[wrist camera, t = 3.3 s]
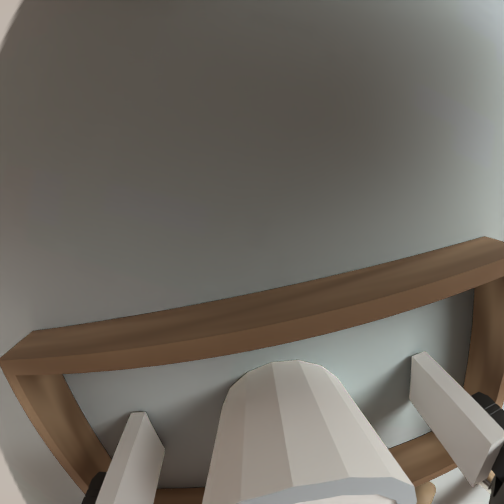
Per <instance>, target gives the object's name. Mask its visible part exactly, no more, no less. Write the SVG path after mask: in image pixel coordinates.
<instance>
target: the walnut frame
mask: <svg viewBox="0 0 504 504" xmlns="http://www.w3.org/2000/svg"><path fill="white" fill-rule="evenodd" d="M472 288H474V307H473V321H472V331H471V341H470V349H469V356H468V363H467V369H466V375H465V381H464V387H463V389H464V390H465V391H466V392H467V393H468V394H469V395H470V396H471V395H473V394H475V393H477V392H481V393H483V394H486V395H488V396H489V397H490V398H491V399H492V400H493V401H494V402H495V404H498V405H499V406H500V407H501V409H502V405H503V402H504V242H503V241H499V240H496V239H492V238H489V237H485V236H484V237H480V238H477V239H473V240H470V241H466V242H463V243H459V244H455V245H452V246H448V247H444V248H441V249H437V250H433V251H430V252H426V253H422V254H418V255H414V256H411V257H407V258H403V259H399V260H395V261H391V262H387V263H383V264H379V265H375V266H371V267H367V268H363V269H359V270H354V271H350V272H346V273H342V274H338V275H333V276H329V277H325V278H320V279H316V280H311V281H307V282H303V283H298V284H294V285H289V286H284V287H280V288H275V289H270V290H266V291H261V292H256V293H251V294H247V295H242V296H237V297H232V298H227V299H222V300H217V301H212V302H206V303H201V304H196V305H191V306H185V307H180V308H175V309H169V310H163V311H158V312H152V313H146V314H141V315H135V316H129V317H123V318H117V319H111V320H105V321H98V322H92V323H85V324H79V325H72V326H65V327H58V328H51V329H44V330H37V331H32V332H31V333H30V334H28V335H27V336H26V337H25V338H23V339H22V340H21V341H20V342H19V343H17V344H16V345H15V346H14V347H13V348H11V349H10V350H9V351H8V352H7V353H6V354H4V355H3V356H2V357H1V358H0V366H1V368H2V370H3V372H4V374H5V376H6V378H7V380H8V382H9V384H10V386H11V388H12V390H13V392H14V393H15V395H16V397H17V399H18V401H19V402H20V404H21V406H22V408H23V409H24V411H25V413H26V414H27V416H28V418H29V419H30V421H31V422H32V424H33V426H34V427H35V429H36V430H37V432H38V433H39V435H40V436H41V438H42V439H43V441H44V442H45V444H46V445H47V446H48V448H49V449H50V451H51V452H52V454H53V455H54V456H55V458H56V459H57V460H58V462H59V463H60V464H61V466H62V467H63V468H64V469H65V471H66V472H67V473H68V475H69V476H70V477H71V478H72V479H73V481H74V482H75V483H76V484H77V486H78V487H79V488H80V489H81V490H82V491H83V493H84V494H86V492H87V490H88V487H89V484H90V482H91V480H92V478H93V477H94V476H95V475H96V474H97V473H98V472H107V471H108V469H109V466H110V463H111V461H112V459H111V458H110V456H109V455H108V453H107V452H106V450H105V449H104V447H103V446H102V444H101V443H100V441H99V440H98V438H97V436H96V435H95V433H94V432H93V430H92V428H91V427H90V425H89V423H88V421H87V420H86V418H85V416H84V415H83V413H82V411H81V409H80V407H79V406H78V404H77V402H76V400H75V398H74V396H73V395H72V393H71V391H70V389H69V387H68V385H67V383H66V381H65V379H64V377H63V375H62V374H72V373H88V372H101V371H112V370H123V369H132V368H141V367H150V366H158V365H166V364H173V363H180V362H187V361H194V360H200V359H206V358H213V357H218V356H224V355H230V354H235V353H241V352H246V351H251V350H256V349H261V348H266V347H271V346H276V345H281V344H285V343H290V342H294V341H298V340H303V339H307V338H311V337H315V336H320V335H324V334H328V333H332V332H336V331H339V330H343V329H347V328H351V327H354V326H358V325H362V324H365V323H369V322H372V321H376V320H379V319H383V318H386V317H389V316H393V315H396V314H399V313H402V312H406V311H409V310H412V309H415V308H418V307H421V306H424V305H427V304H430V303H433V302H436V301H439V300H442V299H445V298H448V297H450V296H453V295H456V294H459V293H462V292H464V291H467V290H470V289H472ZM388 450H389V451H390V453H391V454H392V456H393V457H394V458H395V460H396V461H397V463H398V464H399V466H400V467H401V468H402V470H403V471H404V473H405V474H406V475H407V477H408V478H409V480H410V481H411V482H412V484H413V485H414V487H417V486H419V485H421V484H424V483H426V482H428V481H430V480H432V479H434V478H437V477H439V476H441V475H443V474H445V473H447V472H449V471H451V470H453V469H455V468H457V467H458V466H457V465H456V463H455V462H454V461H453V459H452V458H451V456H450V455H449V453H448V452H447V451H446V449H445V448H444V446H443V445H442V444H441V442H440V441H439V439H438V438H437V437H436V435H435V434H434V433H433V431H432V432H430V433H427V434H425V435H423V436H420V437H418V438H416V439H413V440H411V441H408V442H406V443H403V444H401V445H398V446H395V447H393V448H390V449H388ZM204 492H205V487H201V488H173V489H156V494H155V498H154V503H153V504H202V501H203V496H204Z"/></svg>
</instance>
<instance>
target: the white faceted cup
mask: <svg viewBox="0 0 504 504" xmlns="http://www.w3.org/2000/svg"><path fill="white" fill-rule="evenodd" d="M416 503H417V498H416V493H415V488H414V485H413V484H412V482H411V481H410V480H409V478H408V477H407V475H406V474H405V473H404V471H403V470H402V468H401V467H400V466H399V464H398V463H397V461H396V460H395V458H394V457H393V456H392V454H391V453H390V451H389V450H388V449H387V447H386V446H385V444H384V443H383V441H382V440H381V439H380V437H379V436H378V434H377V433H376V432H375V430H374V429H373V427H372V426H371V424H370V423H369V422H368V420H367V419H366V417H365V416H364V415H363V413H362V412H361V410H360V409H359V407H358V406H357V405H356V403H355V402H354V400H353V399H352V397H351V396H350V395H349V393H348V392H347V390H346V389H345V388H344V386H343V385H342V383H341V382H340V380H339V379H338V378H337V377H336V376H335V375H333V374H332V373H331V372H329V371H328V370H327V369H325V368H324V367H323V366H321V365H317V364H313V363H309V362H305V361H301V360H291V361H279V362H271V363H268V364H266V365H264V366H261V367H259V368H256V369H254V370H251V371H249V372H247V373H246V374H245V375H244V376H243V377H241V378H240V379H239V380H238V381H237V382H236V383H235V384H234V385H233V386H231V387H230V389H229V391H228V394H227V396H226V399H225V401H224V403H223V406H222V411H221V415H220V420H219V425H218V430H217V435H216V439H215V444H214V449H213V454H212V458H211V463H210V468H209V473H208V477H207V482H206V487H205V492H204V496H203V501H202V504H416Z"/></svg>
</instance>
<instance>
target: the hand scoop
mask: <svg viewBox="0 0 504 504" xmlns="http://www.w3.org/2000/svg"><path fill="white" fill-rule="evenodd" d="M414 488H415V493H416V498H417V503H416V504H431V502H432V500H433V498H434V495H435V493H436V488H435V485H434V484H433V483H431V482H429V481H428V482H426V483H424V484H421V485H419V486H417V487H414Z"/></svg>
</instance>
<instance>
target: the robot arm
mask: <svg viewBox="0 0 504 504" xmlns="http://www.w3.org/2000/svg"><path fill="white" fill-rule="evenodd" d="M409 400H410V401H411V403H412V404H413V405H414V407H415V408H416V409H417V411H418V412H419V413H420V415H421V416H422V417H423V419H424V420H425V422H426V423H427V424H428V426H429V427H430V428H431V430H432V431H433V433H434V434H435V435H436V437H437V438H438V439H439V441H440V442H441V444H442V445H443V446H444V448H445V449H446V451H447V452H448V453H449V455H450V456H451V458H452V459H453V461H454V462H455V463H456V465H457V466H458V468H459V469H460V471H461V472H462V473H463V475H464V476H465V478H466V479H467V481H468V482H469V484H470V485H471V486H472V487H473V486H475V485H477V484H478V483H480V482H482V481H483V480H485V479H487V477H488V475H489V473H490V471H491V470H492V471H493V472H494V474H495V476H494V477H493V479H492V481H491V483H490V485H489V487H488V490H489V489H490V488H491V487H492V490H491V495H490V501H489V504H504V410H503V409H501V407H500V406H499V405H498V404H495V402H494V401H493V400H492V399H491V398H490V397H489V396H488V395H486V394H483V393H481V392H477V393H475V394H473V395H471V396H470V395H469V394H468V393H467V392H466V391H465V390H464V389H463V388H462V387H461V386H460V385H459V384H458V383H457V382H456V381H455V380H454V379H453V378H452V377H451V376H450V375H449V374H448V373H447V372H446V371H445V370H444V369H443V368H442V367H441V366H440V365H439V364H438V363H437V362H436V361H435V360H434V359H433V358H432V357H431V356H430V355H429V354H428V353H427V352H426V351H424V352H422V353H419V354H416V355H413V356H412V363H411V381H410V394H409ZM164 454H165V449H164V447H163V445H162V443H161V441H160V439H159V438H158V436H157V434H156V432H155V430H154V428H153V426H152V424H151V422H150V420H149V418H148V416H147V414H146V412H135V413H131V414H130V417H129V419H128V422H127V424H126V426H125V429H124V431H123V434H122V436H121V439H120V441H119V443H118V446H117V448H116V451H115V453H114V456H113V458H112V461H111V463H110V466H109V469H108V471H107V472H98V473H97V474H96V475H95V476H94V477H93V478H92V480H91V482H90V484H89V487H88V490H87V492H86V494H85V497H84V499H83V502H82V504H153V503H154V498H155V494H156V489H157V485H158V480H159V476H160V471H161V467H162V463H163V458H164Z"/></svg>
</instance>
